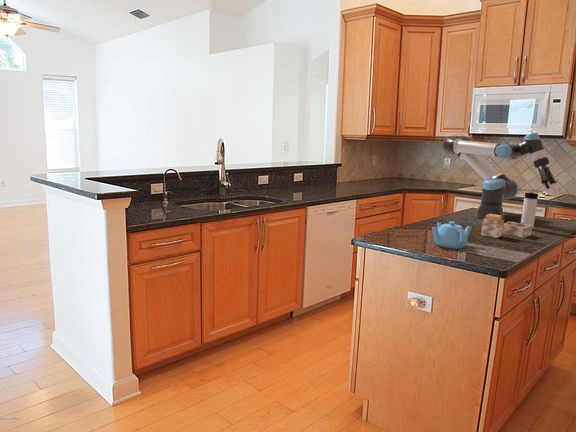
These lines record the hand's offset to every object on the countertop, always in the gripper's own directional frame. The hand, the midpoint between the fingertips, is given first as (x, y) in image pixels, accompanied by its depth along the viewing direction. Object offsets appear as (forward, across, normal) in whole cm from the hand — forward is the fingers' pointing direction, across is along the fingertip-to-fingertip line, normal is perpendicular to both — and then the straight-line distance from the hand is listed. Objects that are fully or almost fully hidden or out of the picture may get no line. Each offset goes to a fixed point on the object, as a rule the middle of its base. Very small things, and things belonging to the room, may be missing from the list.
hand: (553, 194), depth 258 cm
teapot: (+15, -89, +29) cm, 94 cm away
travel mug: (+15, -20, +14) cm, 29 cm away
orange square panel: (+8, -54, +18) cm, 57 cm away
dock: (+16, -46, +17) cm, 52 cm away
